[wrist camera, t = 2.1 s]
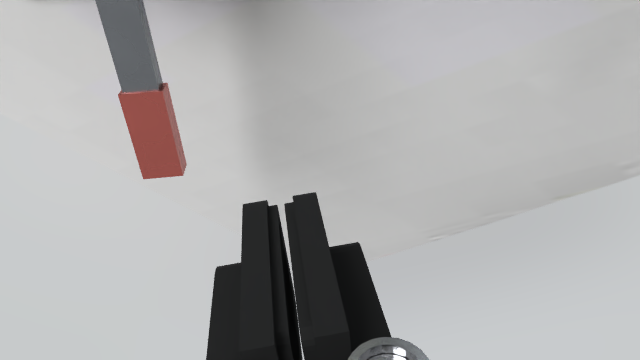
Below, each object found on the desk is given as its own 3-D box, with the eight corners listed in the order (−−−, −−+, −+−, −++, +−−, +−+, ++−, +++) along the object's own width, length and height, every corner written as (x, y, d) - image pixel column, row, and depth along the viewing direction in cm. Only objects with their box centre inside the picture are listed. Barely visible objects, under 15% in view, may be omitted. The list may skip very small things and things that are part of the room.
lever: (36, -194, 17) (19, -202, 16) (109, -197, 17) (98, -204, 16) (143, 167, 26) (137, 180, 25) (191, 163, 26) (188, 175, 25)
